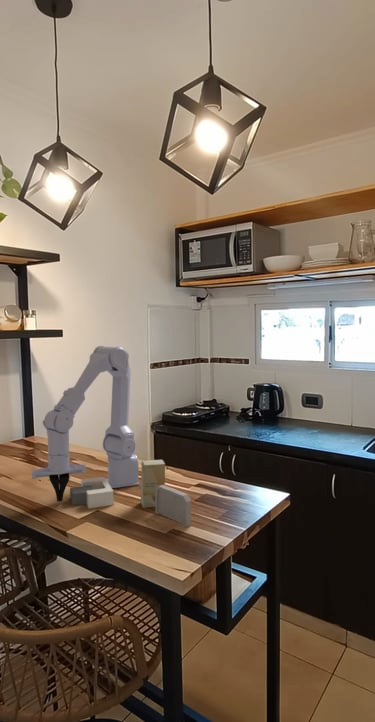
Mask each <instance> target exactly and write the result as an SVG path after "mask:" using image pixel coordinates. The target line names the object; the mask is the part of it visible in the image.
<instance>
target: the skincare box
mask: <svg viewBox="0 0 375 722" xmlns="http://www.w3.org/2000/svg"><path fill="white" fill-rule="evenodd" d="M140 470H141V471H140V472H141V473H140V479H141V481H140V503H141V507H142V508H155V490H156V489H157V487H158V486H161V485H165V484H166V463H165V461H164V460H163V459H150V460H141V468H140ZM165 486H166V485H165Z"/></svg>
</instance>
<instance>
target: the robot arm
mask: <svg viewBox="0 0 375 722" xmlns="http://www.w3.org/2000/svg"><path fill="white" fill-rule="evenodd" d="M129 355H130V354H129V353H128V351H126V349H124V348H123V347H122V346H103V345H98V346H97V347H95V348H94V350H93V352H92V353H91V354H90V355H89V362H88V363H87V365H85V366H86V367H85V368H84V370H83V371H82V372H81V375H80V376H79V378H78V379H77V381H76V383H75V385H74V386H73V387H69V388H67V389H66V390H64V391H63V392H62V394H63V395H62V396H61V398H60V399H59V401H58V402H57V404H56V405H54V406H53V409H51V410H50V411H48V412H47V413H46V414H45V416H44V420H42V424H43V425H42V426H43V427H44V428H45V429H46V435H47V461H48V462H47V463H48V466H47V467H44V468H38V469H32V470H31V479H32V480H36V479H38V478H39V479H40V478H46V477H48V478H49V481H50V484H51V485H52V487H53V489H54V492H55V496H56V502H57V503H58V502H63V498H64V495H65V490H66V488H67V485H68V484H69V481H70V475H73V474H86V473H87V472H86V470H87V469H86V464H70V433H69V432H70V431H69V430H71V428H73V425H74V418H75V415H76V413H78V410H79V409H80V407H81V406H82V404H83V403H84V402H85V400H86V397H85V396H86V395H85V394H86V392H87V390H88V389H89V388H90V387H91V385H92V384H93V383H94V381H95V380H96V379H97V378H98V376H99V375H100V374H101V373H105V372H108V373H109V374H110V375H111V376H112V385H111V387H112V388H111V410H110V411H111V412H110V413H111V414H110V425H109V427H107V428H106V430H105V434H104V438H103V440H102V448H103V450H104V451H105V453H106V456H107V478H106V480H107V482H108V483H109V485H110V486H111V488H112V489H114V488H115V489H116V488H124V487H130V486H138V485H140V482H139V477H140V476H139V458H138V455H137V454H134V453H135V450H136V447H137V444H136V441H135V433H134V431H133V430H132V429H131V428H130V426H129V418H130V417H129V413H130V411H129V410H130V393H131V392H130V391H131V368H130V363H129V359H130V358H129V357H130V356H129Z"/></svg>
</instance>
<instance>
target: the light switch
mask: <svg viewBox="0 0 375 722" xmlns="http://www.w3.org/2000/svg"><path fill="white" fill-rule="evenodd" d="M154 509H155V511H154V512H155V513H154V514H156V515H162V516H164V517H166V518H168V519H170V520H173V521H175V522H176V523H179V524H181V525H182V526H183V527H186V528H188V527H190V526H192V499H191V498H190V496H189V494H188V493H187V492H183V491H180V490H178V489H176V488H173V487H169V485H161V486H158V487H157V489H156V490H155V507H154Z"/></svg>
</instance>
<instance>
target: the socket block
mask: <svg viewBox="0 0 375 722" xmlns="http://www.w3.org/2000/svg"><path fill="white" fill-rule="evenodd" d="M106 479H107V478H106V477H105V476H98V477H91V478H81V479H80V485H81V486H89V485H91V486H92V488H93V490H88V491H86V495H87V503H86V507H87V509H95V508H102V507H109V506H114V504H115V503H114V501H115V500H114V489H113V488H111V486H110V485H109V483H108V482H107V480H106ZM81 486H80V487H81Z"/></svg>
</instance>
